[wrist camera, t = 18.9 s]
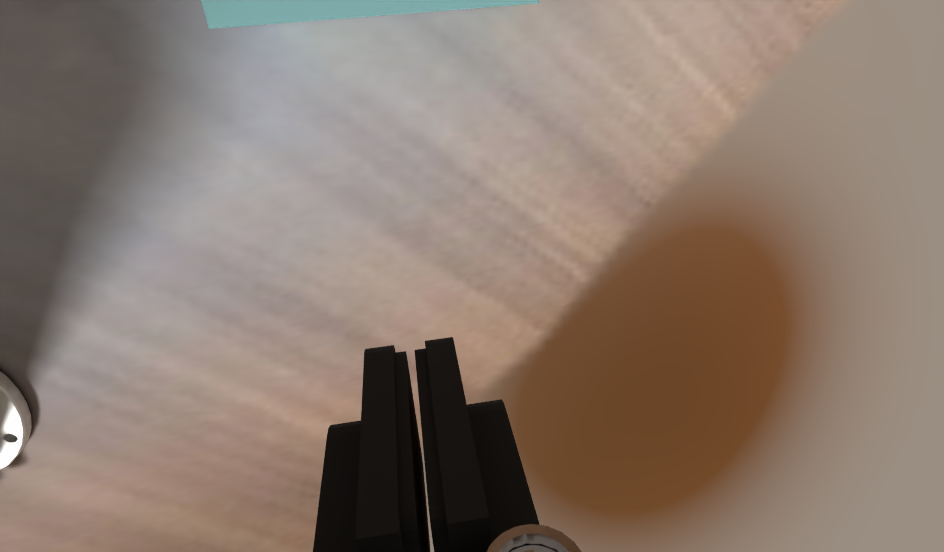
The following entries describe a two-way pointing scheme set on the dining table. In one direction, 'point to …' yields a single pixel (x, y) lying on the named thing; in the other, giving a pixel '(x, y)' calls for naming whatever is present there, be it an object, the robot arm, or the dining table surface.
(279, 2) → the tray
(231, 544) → the dining table surface
